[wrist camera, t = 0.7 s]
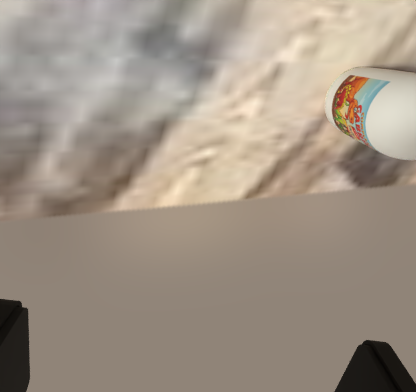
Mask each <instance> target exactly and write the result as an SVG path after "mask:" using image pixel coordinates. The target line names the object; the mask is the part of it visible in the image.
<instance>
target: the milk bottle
mask: <svg viewBox="0 0 416 392" xmlns="http://www.w3.org/2000/svg"><path fill="white" fill-rule="evenodd" d="M325 113H326V116H327V118H328V120H329V122H330V123H331V124H332V125H333V126H334V127H335V128H337V129H338V130H340V131H341V132H343V133H345V134H347V135H348V136H350V137H352V138H354V139H356V140H357V141H359V142H361V143H363V144H365V145H367V146H369V147H370V148H372V149H374V150H376V151H378V152H380V153H383V154H385V155H387V156H390V157H393V158H397V159H403V160H416V73H413V72H406V71H398V70H390V69H381V68H372V67H356V68H353V69H350V70H348V71H346V72H344V73H342V74H341V75H340V76H339V77H338V78H337V79H336V80H335V81H334V82H333V83H332V85H331V86H330V88H329V90H328V92H327V95H326V99H325Z"/></svg>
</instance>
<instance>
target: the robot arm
mask: <svg viewBox="0 0 416 392" xmlns="http://www.w3.org/2000/svg"><path fill="white" fill-rule="evenodd" d="M29 380H30V366H29V328H28V309H27V308H23V307H22V303H21V302H20V301H13V300H5V299H0V392H26V390H27V387H28V384H29ZM335 392H416V384H415V382H414V381H413V379H412V377H411V376H410V375H409V373H408V372H407V370H406V368H405V367H404V365H403V364H402V363H401V361H400V359H399V358H398V356H397V355H396V353H395V352H394V351H393V349H392V347H391V346H390V345H389V344H388V343H386V342H379V341H370V340H366V341H364V342H363V343H362V345H359V346H358V347H357V349H356V351H355V353H354V355H353V357H352V359H351V361H350V363H349V365H348V367H347V368H346V371H345V372H344V374H343V376H342V378H341V380H340V382H339V384H338V386H337V388H336V390H335Z"/></svg>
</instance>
